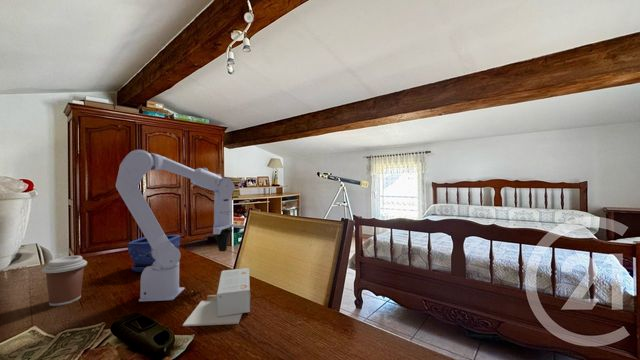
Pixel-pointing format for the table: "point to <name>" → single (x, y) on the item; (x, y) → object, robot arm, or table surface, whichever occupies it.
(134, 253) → the flower pot
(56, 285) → the coffee cup
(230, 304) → the small box
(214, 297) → the oak strip
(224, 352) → the table surface
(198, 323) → the mat
